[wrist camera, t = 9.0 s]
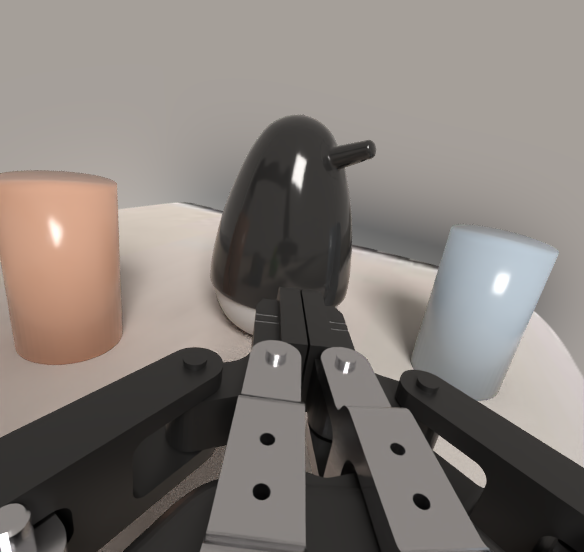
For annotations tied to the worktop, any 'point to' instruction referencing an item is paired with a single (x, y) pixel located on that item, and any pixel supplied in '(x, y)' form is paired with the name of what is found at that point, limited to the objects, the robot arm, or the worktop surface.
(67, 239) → the terracotta canister
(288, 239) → the pump dispenser
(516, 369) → the worktop surface
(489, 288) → the slate-blue canister
